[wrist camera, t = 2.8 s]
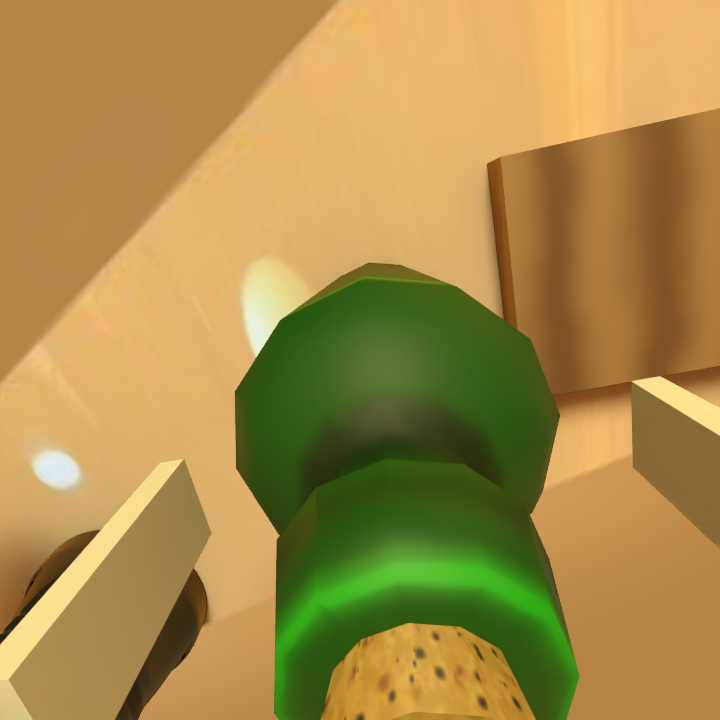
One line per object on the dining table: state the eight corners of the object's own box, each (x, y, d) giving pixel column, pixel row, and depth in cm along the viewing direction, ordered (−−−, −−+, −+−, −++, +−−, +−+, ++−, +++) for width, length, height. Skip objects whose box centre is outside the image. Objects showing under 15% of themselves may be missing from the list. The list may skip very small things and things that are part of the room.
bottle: (371, 413, 34) (381, 1083, 8) (277, 313, 32) (-184, 762, 5) (481, 328, 32) (1047, 848, 5) (388, 213, 30) (568, 113, 3)
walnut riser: (511, 385, 33) (524, 400, 30) (487, 163, 29) (500, 157, 26) (756, 340, 32) (794, 352, 29) (773, 100, 27) (820, 86, 24)
